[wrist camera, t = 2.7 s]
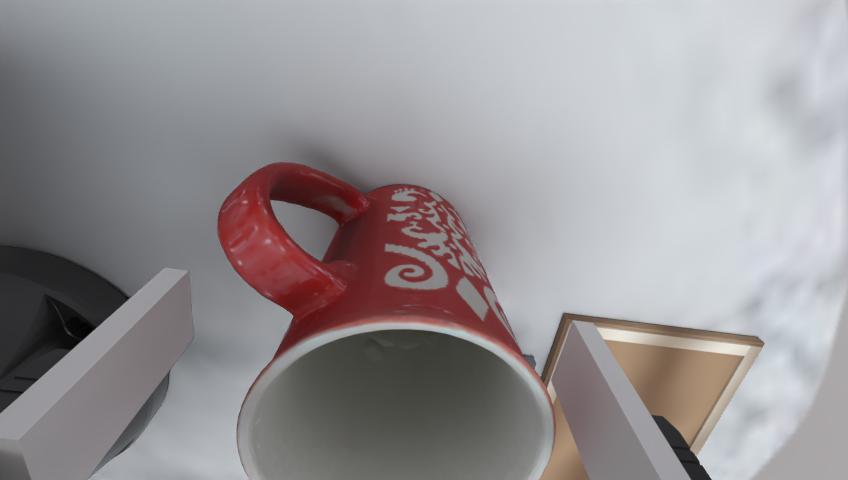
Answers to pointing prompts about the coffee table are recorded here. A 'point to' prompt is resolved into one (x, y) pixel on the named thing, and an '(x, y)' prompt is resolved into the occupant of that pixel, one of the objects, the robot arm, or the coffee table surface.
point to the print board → (659, 379)
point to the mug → (380, 342)
